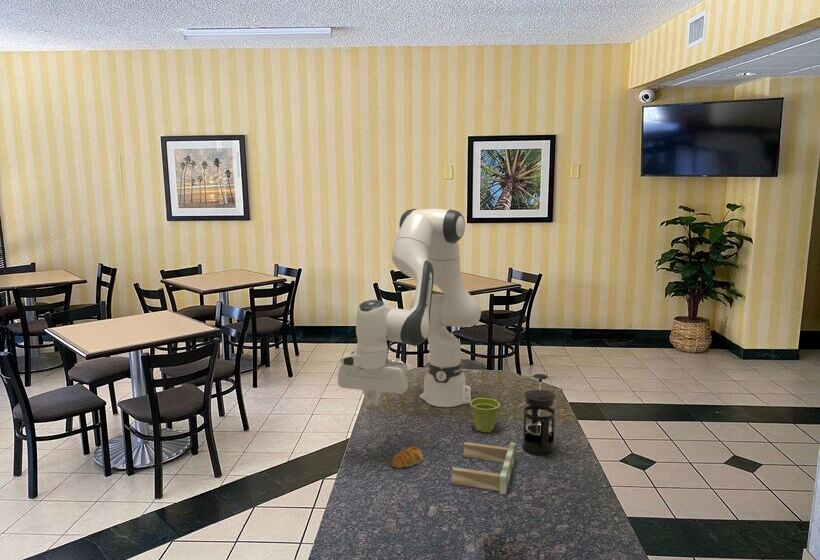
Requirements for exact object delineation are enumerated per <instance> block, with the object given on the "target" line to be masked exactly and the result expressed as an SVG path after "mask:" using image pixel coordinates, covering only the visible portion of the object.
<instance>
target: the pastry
mask: <svg viewBox="0 0 820 560" xmlns="http://www.w3.org/2000/svg"><path fill="white" fill-rule="evenodd" d="M390 459H391V460H390V466H391V467H393V468H396V469H403V468H402V467H406V468H410V467H409V466H411V467H413V466H412V465H414V466H416V465H415V464H417V465H419V464H418V463H420V462H421V463H422V462H423V461H424V455H423V453H422V452H421V450H420V449H419V447H417V446H411V447H409V448H405V449H401V450H400V451H399V452H398V453H396V454H395V455H394V456H393V457H392V458H390ZM421 463H420V464H421Z"/></svg>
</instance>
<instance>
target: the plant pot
mask: <svg viewBox="0 0 820 560" xmlns="http://www.w3.org/2000/svg"><path fill="white" fill-rule="evenodd" d="M469 405H470V406H471V409H472V414H473V422H474V429H475V430H476V431H479V432H481V433H491V432H492V431H493V430H494V429H495V426H496V425H495V424H496V419H497V414H498V413H497V412H498V410H499V407H500V406H501V403H500V402H499V401H497V400H496V399H493V398H491V397H490V398H489V397H477V398H474V399H471V402H470V403H469Z"/></svg>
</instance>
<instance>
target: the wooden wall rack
mask: <svg viewBox="0 0 820 560" xmlns="http://www.w3.org/2000/svg"><path fill="white" fill-rule="evenodd" d="M466 457H468V459H473V460H483V461H491V462H497V463H503V464H502V469H501V471H500V473H498V472H490V471H482V470H477V469H476V470H475V469H469V468H461V467H454V466H453V467H452V468H451V484H452V485H458V486H463V485H464V487H470V488H479V489H484V490H485V489H486V490H491V491H498V492H499V494H500V495H506V494H507V490H508V487H509V484H510V478H511V476H512V473H513V468H514V465H515V461H516V442H512V441H511V442H509V445H508V446H507V447H506V446H498V445H490V444H482V443H476V442H475V443H474V442H465V441H464V443H463V458H466Z"/></svg>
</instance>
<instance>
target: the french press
mask: <svg viewBox="0 0 820 560" xmlns="http://www.w3.org/2000/svg"><path fill="white" fill-rule="evenodd" d="M532 377H533V378H534V379H537V380H538V382H539V389H531V390H527V391H526V392H524V395H523V396H524V398H525V403H526V404H527V405H528V406H525V407H524V409H523V430H522V431H523V434H522V437H523V438H522V450H523V451H524V452H525V453H527V454H529V455H532V456H538V457H539V456H541V457H542V456H543V457H545V456H549V455H551V454H553V453H554V451H555V446H554V445H555V420H556V419H555V417H556V411H555V409H554V408H552V406H554V403H555V399H556V395H555V393H554V392H551V391H549V390H544V389H542V387H541V386H542V382H543V380H546V379H548V378H549V376H548V375H547V374H544V373H535V374H533V376H532ZM541 410H542V411H546V412H548V413H549V412H550V413H551V414H550V415H547V416H546V415H545V416H541ZM528 411H531V414H530V413H527V412H528ZM527 419H528V420H531V422H530V423H527ZM550 421H551V425H550ZM536 443H537V444H536ZM538 443H539V444H538Z"/></svg>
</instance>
